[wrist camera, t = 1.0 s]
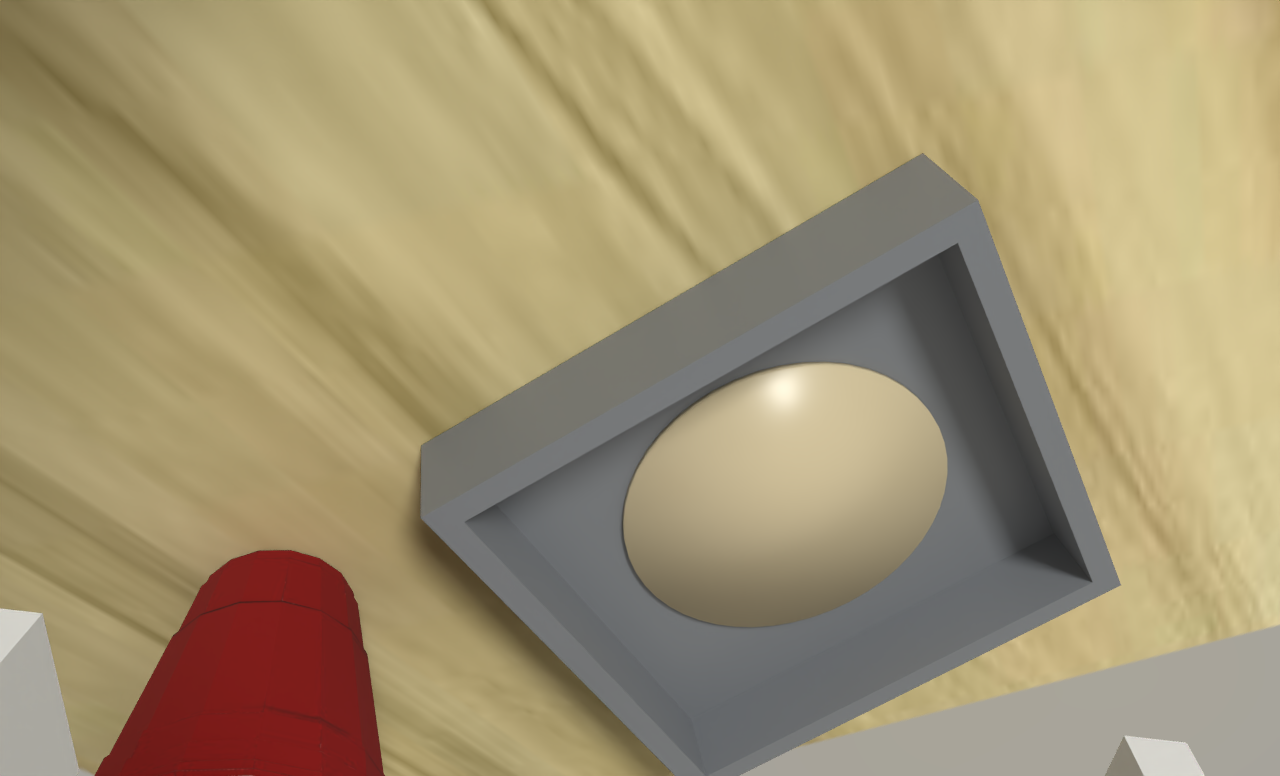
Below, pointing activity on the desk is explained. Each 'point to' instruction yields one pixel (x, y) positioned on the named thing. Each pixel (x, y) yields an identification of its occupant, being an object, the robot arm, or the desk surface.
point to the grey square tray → (784, 485)
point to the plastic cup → (259, 680)
